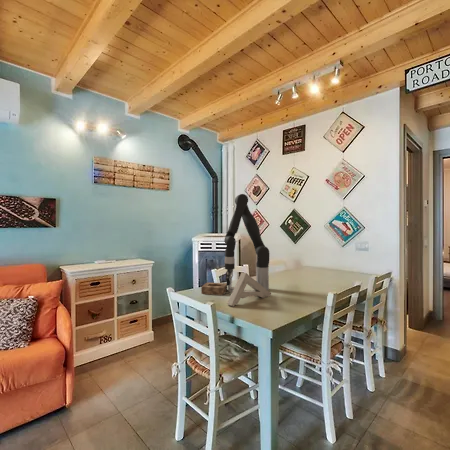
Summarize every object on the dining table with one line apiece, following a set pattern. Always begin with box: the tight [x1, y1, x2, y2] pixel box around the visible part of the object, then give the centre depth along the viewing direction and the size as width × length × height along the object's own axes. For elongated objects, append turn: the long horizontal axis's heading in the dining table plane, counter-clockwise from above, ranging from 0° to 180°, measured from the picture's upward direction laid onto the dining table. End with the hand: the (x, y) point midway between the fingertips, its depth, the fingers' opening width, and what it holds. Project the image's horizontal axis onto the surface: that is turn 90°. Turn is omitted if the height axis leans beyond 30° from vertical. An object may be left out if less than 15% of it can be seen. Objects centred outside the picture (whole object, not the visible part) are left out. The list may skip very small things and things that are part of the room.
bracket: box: [227, 277, 235, 293], centre depth 204 cm, size 8×4×10 cm, turn 78°
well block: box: [200, 281, 228, 296], centre depth 202 cm, size 16×14×5 cm
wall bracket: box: [226, 271, 272, 307], centre depth 180 cm, size 22×4×30 cm
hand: (229, 284), depth 205 cm, fingers open, 8 cm apart
